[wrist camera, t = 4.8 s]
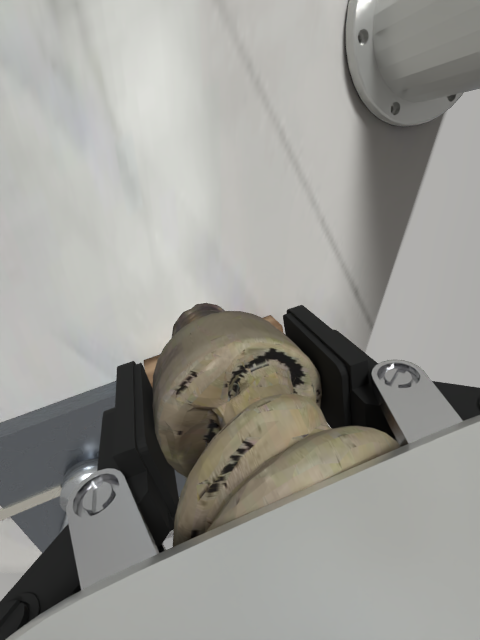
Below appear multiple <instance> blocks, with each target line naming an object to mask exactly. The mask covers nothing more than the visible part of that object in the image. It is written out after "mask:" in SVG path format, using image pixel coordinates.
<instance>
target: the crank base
mask: <svg viewBox="0 0 480 640" xmlns="http://www.w3.org/2000/svg"><path fill="white" fill-rule="evenodd" d="M115 398H116V381H115V382H112V383H109V384H107V385H104V386H101V387H98V388H96V389H93V390H90V391H87V392H85V393H82V394H79V395H76V396H74V397H71V398H68V399H65V400H62V401H60V402H57V403H54V404H51V405H49V406H46V407H43V408H40V409H38V410H35V411H32V412H29V413H27V414H24V415H21V416H18V417H16V418H13V419H10V420H7V421H5V422H2V423H0V506H1V507H2V508H1V509H0V521H1V520H3V519H6V518H8V517H11V518H12V519H13V520H14V521H15V523H16V524H17V525H18V526H19V527H20V528H21V529H22V530H23V532H24V533H25V534H26V535H27V536H28V537H29V538H30V540H31V541H32V542H33V543H34V544H35V545H36V546H37V547H38V549H39V550H40V551H41V552H42V553H43V552H44V551H45V550H46V549H47V547H48V546H49V545H50V544H51V543H52V542H53V541H54V539H55V538H56V537H57V536H58V535H59V534H60V531H61V527H62V524H63V521H64V518H65V514H66V512H65V511H64V510H63V509H62V507H61V506H60V494H61V488H62V482H63V478H64V475H65V474H66V472H67V471H68V470H69V469H70V468H71V467H72V466H74V465H75V464H77V463H79V462H82V461H85V460H89V459H98V456H99V447H100V437H101V427H102V417H103V412H104V411H106V410H109V409H111V408H114V407H115ZM175 476H176V483H177V489H178V496H179V497H180V494H181V491H182V489H183V487H184V484H185V482H186V480H187V478H186V477H185V476H183V475H181V474H180V473H178V472H177V471H176V470H175Z"/></svg>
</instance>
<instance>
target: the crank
mask: <svg viewBox="0 0 480 640" xmlns="http://www.w3.org/2000/svg"><path fill="white" fill-rule="evenodd" d="M97 466H98V459H89V460H85V461H82V462H79V463H77V464H75V465H74V466H72V467H71V468H70V469H69V470H68V471H67V472H66V474H65V475H64V478H63V482H62V488H61V494H60V506H61V507H62V509H63V510H64V511H65V512H66V505H67V503H68V500H69V497H70V495H71V494H72V492H73V491H74V489H75V488H76V487H77V486H78V485H79V484H80V483H81V481H83V480H84V479H85V478H87V477H88V476H89V475H91V474H93V473H95V472H97ZM67 524H68V519H67V514H65V518H64V521H63V524H62V527H61V531H62V530H63V529H64V528H65V527H66V526H67ZM61 531H60V533H61Z"/></svg>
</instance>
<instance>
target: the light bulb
mask: <svg viewBox="0 0 480 640" xmlns="http://www.w3.org/2000/svg"><path fill="white" fill-rule="evenodd" d="M152 389H153V404H152V407H153V417H154V425H155V434H156V437H157V440H158V442H159V445H160V447H161V450H162V452H163V454H164V456H165V458H166V460H167V462H168V463H169V464H170V465H171V466H172V467H173V468H174V469H175V470H176V471H177V472H178V473H180V474H181V475H183V476H185V477H186V478H187V480H186V482H185V484H184V487H183V489H182V491H181V494H180V498H179V502H178V506H177V510H176V514H175V521H174V536H173V547H174V546H177V545H179V544H181V543H183V542H186V541H188V540H190V539H192V538H195V537H197V536H199V535H201V534H204V533H206V532H208V531H210V530H213V529H215V528H217V527H219V526H222V525H224V524H226V523H228V522H231V521H233V520H235V519H237V518H240V517H242V516H244V515H246V514H249V513H251V512H253V511H255V510H258V509H260V508H262V507H265V506H267V505H269V504H272V503H274V502H276V501H279V500H281V499H283V498H285V497H288V496H290V495H292V494H294V493H297V492H299V491H301V490H303V489H306V488H308V487H310V486H312V485H315V484H317V483H319V482H322V481H324V480H326V479H328V478H331V477H333V476H335V475H338V474H340V473H342V472H344V471H347V470H349V469H351V468H354V467H356V466H358V465H361V464H363V463H365V462H367V461H370V460H372V459H374V458H377V457H379V456H381V455H384V454H386V453H388V452H391V451H393V450H395V449H398V448H400V447H401V446H400V444H399V443H398V442H397V441H396V440H394V439H393V438H392V437H390V436H389V435H388V434H386V433H385V432H382V431H379V430H377V429H374V428H369V427H362V426H345V427H339V428H334V429H331V428H330V427H329V426H328V424H327V422H326V420H325V418H324V415H323V413H322V411H321V409H320V405H321V397H322V384H321V379H320V374H319V372H318V370H317V369H316V367H315V366H314V365H313V363H312V362H311V360H310V359H309V357H308V356H306V355H305V354H304V353H303V352H302V351H301V349H300V348H299V347H298V346H297V345H296V344H295V343H294V342H293V341H291V340H290V339H289V338H288V337H287V336H286V335H285V334H284V333H283V332H281V331H280V330H278V329H277V328H276V327H275V326H273V325H272V324H271V323H270V322H269V321H267V320H265V319H263V318H261V317H258V316H256V315H254V314H250V313H246V312H241V311H224V310H223V309H222V308H221V307H219V306H218V305H214V304H208V303H203V304H196V305H195V306H194V307H193V308H191V309H190V310H187V311H185V312H183V313H182V314H181V316H180V317H179V318H178V320H177V321H176V323H175V324H174V326H173V333H172V339H171V340H170V341H169V342H168V343H167V345H166V346H165V347H164V349H163V351H162V353H161V355H160V356H159V358H158V360H157V363H156V367H155V370H154V374H153V388H152Z"/></svg>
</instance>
